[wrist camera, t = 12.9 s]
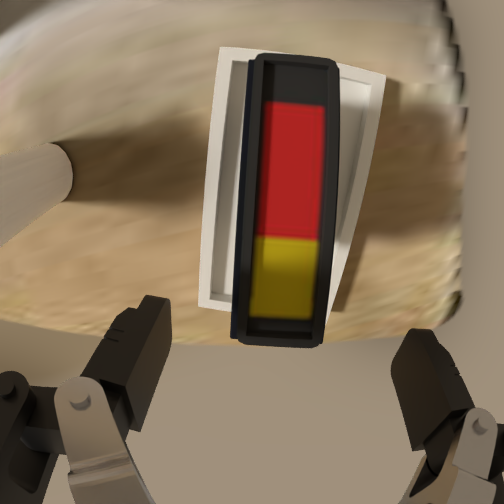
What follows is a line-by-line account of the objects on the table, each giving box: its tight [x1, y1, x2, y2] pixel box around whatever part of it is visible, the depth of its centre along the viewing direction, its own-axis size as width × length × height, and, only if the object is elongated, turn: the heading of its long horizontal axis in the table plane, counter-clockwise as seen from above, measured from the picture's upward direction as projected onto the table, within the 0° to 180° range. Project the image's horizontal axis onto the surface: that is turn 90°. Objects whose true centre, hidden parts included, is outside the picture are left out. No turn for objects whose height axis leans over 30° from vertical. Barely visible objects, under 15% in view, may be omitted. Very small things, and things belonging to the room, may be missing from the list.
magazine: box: [230, 53, 340, 348], centre depth 17 cm, size 4×13×15 cm, turn 177°
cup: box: [0, 143, 73, 247], centre depth 19 cm, size 8×8×14 cm
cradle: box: [198, 47, 386, 324], centre depth 24 cm, size 22×12×2 cm, turn 173°
